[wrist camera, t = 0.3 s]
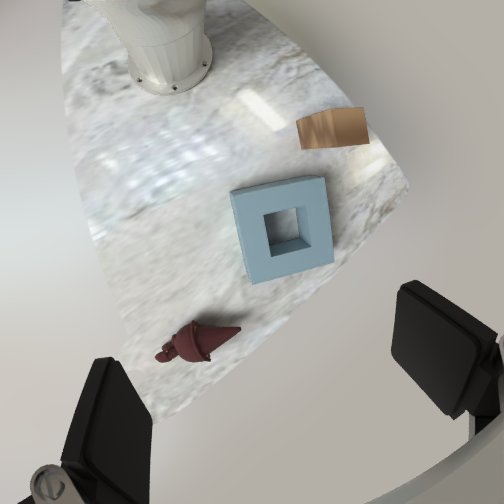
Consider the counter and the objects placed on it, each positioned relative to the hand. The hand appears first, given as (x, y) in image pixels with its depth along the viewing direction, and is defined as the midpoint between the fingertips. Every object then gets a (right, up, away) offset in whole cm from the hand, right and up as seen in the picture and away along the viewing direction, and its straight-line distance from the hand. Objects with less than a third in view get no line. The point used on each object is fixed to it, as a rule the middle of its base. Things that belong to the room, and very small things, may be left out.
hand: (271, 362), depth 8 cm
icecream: (-10, -10, +39) cm, 42 cm away
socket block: (+4, +8, +36) cm, 37 cm away
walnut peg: (+9, +22, +33) cm, 40 cm away
